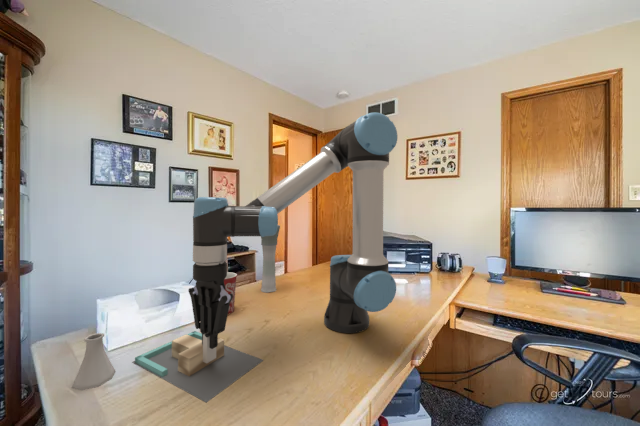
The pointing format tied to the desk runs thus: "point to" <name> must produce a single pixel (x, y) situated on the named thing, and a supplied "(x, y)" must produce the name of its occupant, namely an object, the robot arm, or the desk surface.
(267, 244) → the container
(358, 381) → the desk surface
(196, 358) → the tee block
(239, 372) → the mat
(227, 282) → the mug
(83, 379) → the flask
